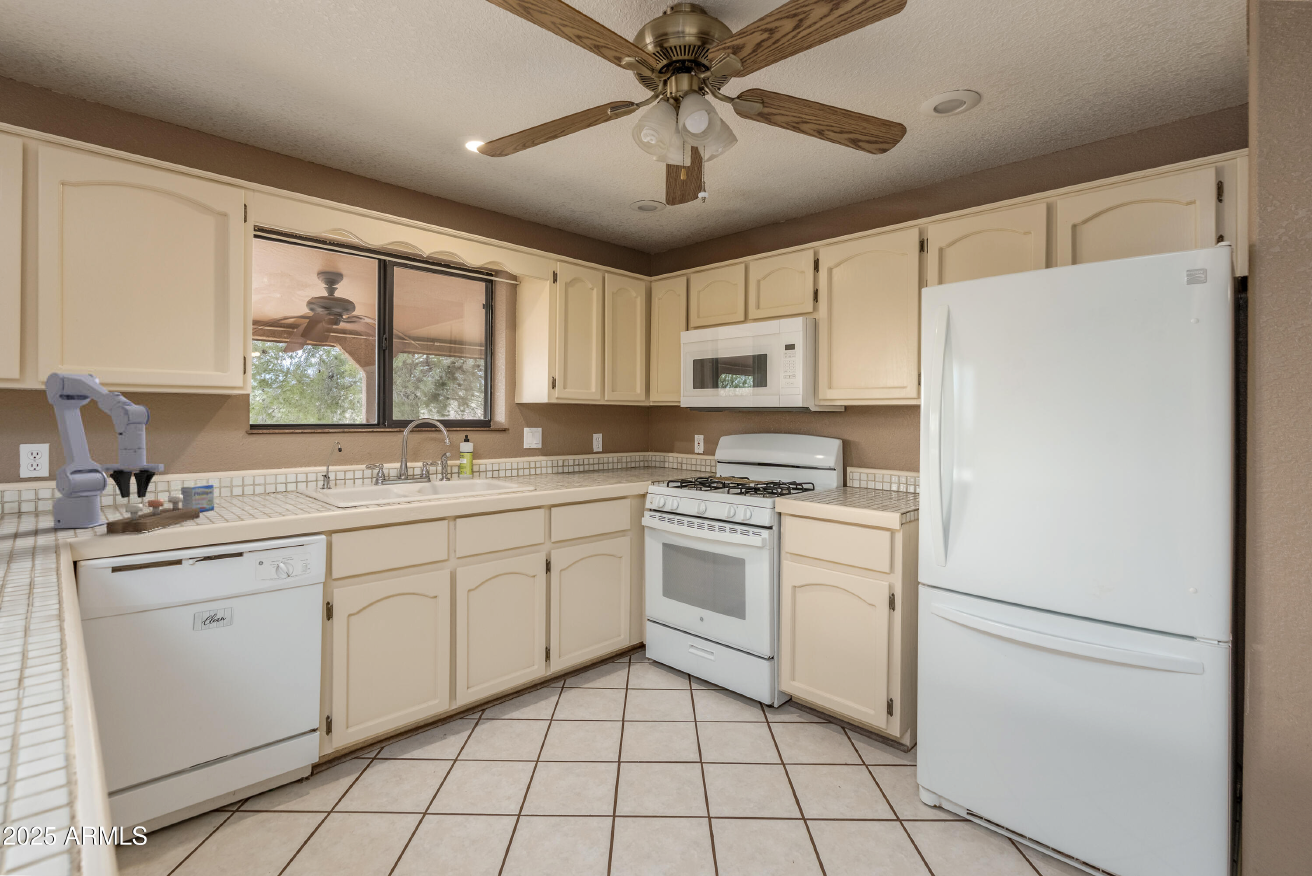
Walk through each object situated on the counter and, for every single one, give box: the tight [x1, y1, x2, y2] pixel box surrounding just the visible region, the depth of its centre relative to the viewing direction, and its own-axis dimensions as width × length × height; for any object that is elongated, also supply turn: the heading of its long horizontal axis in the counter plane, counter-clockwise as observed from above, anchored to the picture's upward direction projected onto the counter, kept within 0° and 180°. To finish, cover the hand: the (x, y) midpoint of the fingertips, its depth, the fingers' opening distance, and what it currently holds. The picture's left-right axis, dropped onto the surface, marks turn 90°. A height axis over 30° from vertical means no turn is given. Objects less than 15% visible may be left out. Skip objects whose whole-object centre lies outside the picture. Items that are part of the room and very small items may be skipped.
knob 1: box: [124, 503, 143, 521], centre depth 169 cm, size 4×4×4 cm
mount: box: [105, 507, 201, 534], centre depth 178 cm, size 10×24×3 cm, turn 8°
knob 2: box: [167, 494, 183, 510], centre depth 187 cm, size 4×4×4 cm
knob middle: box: [147, 498, 165, 515], centre depth 178 cm, size 4×4×4 cm
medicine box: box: [180, 483, 215, 513], centre depth 202 cm, size 8×4×9 cm, turn 168°
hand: (133, 497), depth 169 cm, fingers open, 3 cm apart
